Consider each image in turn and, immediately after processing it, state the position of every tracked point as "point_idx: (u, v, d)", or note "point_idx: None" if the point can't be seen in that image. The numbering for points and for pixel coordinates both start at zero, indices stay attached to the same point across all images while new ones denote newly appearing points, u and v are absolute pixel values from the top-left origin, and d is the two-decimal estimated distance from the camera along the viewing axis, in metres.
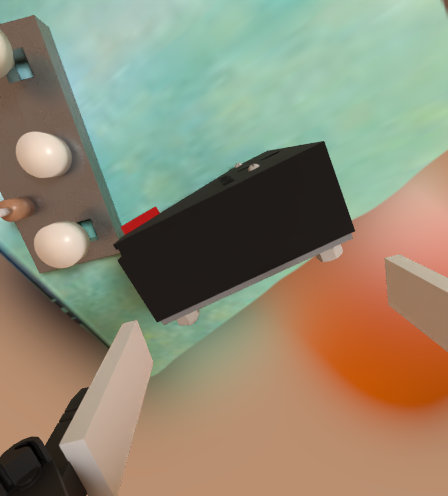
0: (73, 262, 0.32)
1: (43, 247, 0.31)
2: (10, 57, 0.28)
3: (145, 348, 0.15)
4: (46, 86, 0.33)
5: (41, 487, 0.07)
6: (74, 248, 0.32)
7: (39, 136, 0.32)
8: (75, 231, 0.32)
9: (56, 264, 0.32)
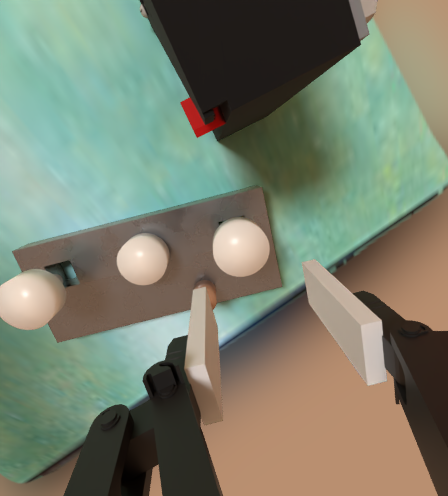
0: (262, 234, 0.25)
1: (241, 266, 0.25)
2: (39, 271, 0.27)
3: (212, 312, 0.16)
4: (76, 249, 0.31)
5: (176, 401, 0.09)
6: (244, 230, 0.25)
7: (121, 259, 0.29)
8: (222, 227, 0.25)
9: (264, 255, 0.25)
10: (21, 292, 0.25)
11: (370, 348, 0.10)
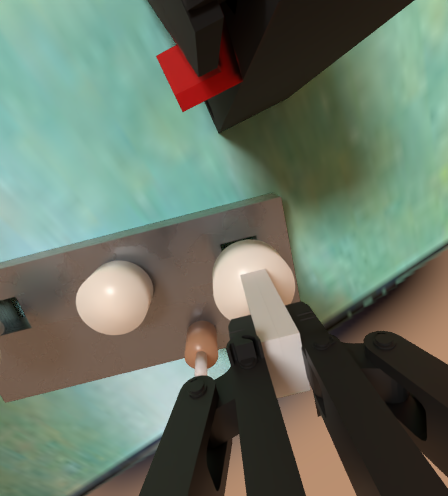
0: (285, 267, 0.17)
1: None
2: None
3: None
4: (24, 283, 0.23)
5: (256, 373, 0.09)
6: (258, 262, 0.17)
7: (82, 300, 0.20)
8: (227, 257, 0.17)
9: (287, 296, 0.17)
10: None
11: (291, 359, 0.11)
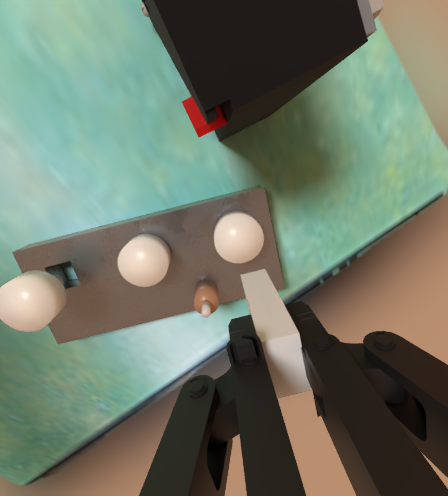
0: (257, 225, 0.28)
1: (239, 254, 0.29)
2: (39, 272, 0.26)
3: None
4: (77, 250, 0.31)
5: (256, 373, 0.09)
6: (241, 222, 0.28)
7: (122, 260, 0.29)
8: (222, 219, 0.28)
9: (259, 244, 0.29)
10: (21, 294, 0.25)
11: (290, 359, 0.11)
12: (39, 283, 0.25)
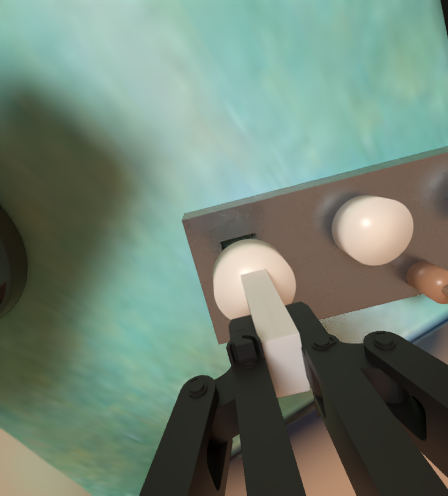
0: None
1: None
2: (261, 241, 0.19)
3: None
4: (267, 218, 0.23)
5: (256, 373, 0.09)
6: None
7: (354, 228, 0.21)
8: None
9: None
10: (256, 270, 0.17)
11: (290, 359, 0.11)
12: (279, 255, 0.17)
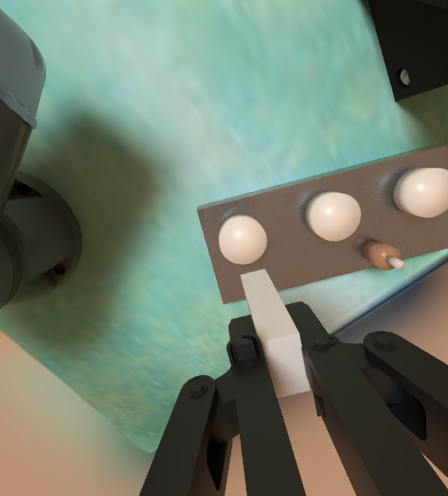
0: None
1: (430, 208, 0.30)
2: (247, 215, 0.31)
3: None
4: (258, 208, 0.32)
5: (256, 373, 0.09)
6: (438, 175, 0.29)
7: (318, 214, 0.29)
8: (417, 174, 0.29)
9: None
10: (243, 230, 0.29)
11: (290, 359, 0.11)
12: (256, 221, 0.30)
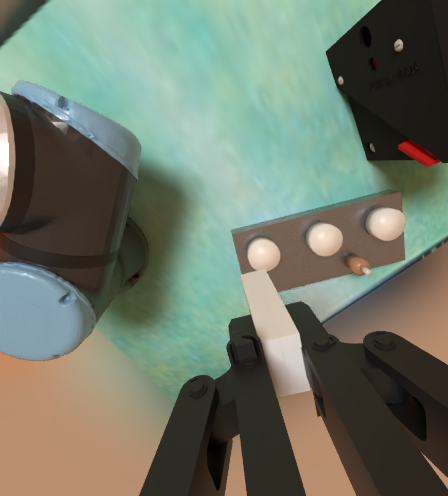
0: (403, 216, 0.44)
1: (388, 234, 0.45)
2: (266, 238, 0.46)
3: None
4: (274, 233, 0.47)
5: (256, 373, 0.09)
6: (393, 213, 0.44)
7: (314, 238, 0.44)
8: (379, 212, 0.44)
9: (402, 228, 0.44)
10: (265, 249, 0.44)
11: (290, 359, 0.11)
12: (273, 243, 0.44)
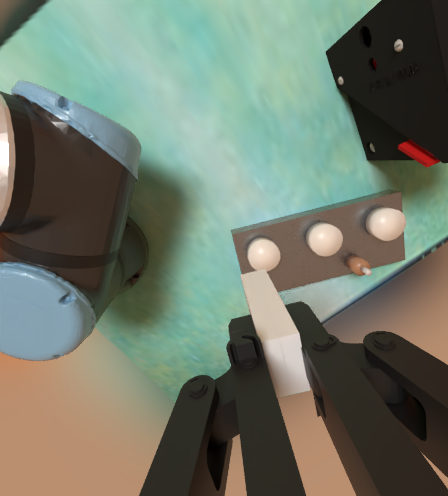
0: (403, 216, 0.44)
1: (388, 234, 0.45)
2: (266, 238, 0.46)
3: None
4: (274, 233, 0.47)
5: (256, 373, 0.09)
6: (393, 213, 0.44)
7: (314, 238, 0.44)
8: (379, 212, 0.44)
9: (402, 228, 0.44)
10: (265, 249, 0.44)
11: (290, 359, 0.11)
12: (273, 243, 0.44)
